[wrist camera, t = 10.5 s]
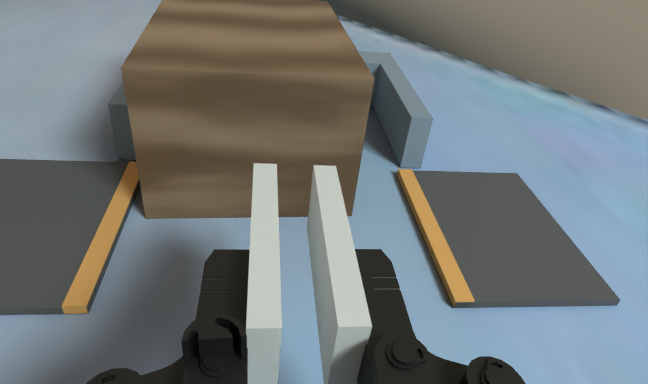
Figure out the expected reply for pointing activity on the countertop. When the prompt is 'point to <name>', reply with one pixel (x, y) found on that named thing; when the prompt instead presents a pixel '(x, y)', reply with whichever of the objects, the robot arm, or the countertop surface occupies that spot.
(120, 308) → the countertop surface
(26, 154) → the countertop surface
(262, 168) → the robot arm
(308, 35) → the walnut block
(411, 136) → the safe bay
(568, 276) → the mats
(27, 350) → the countertop surface
